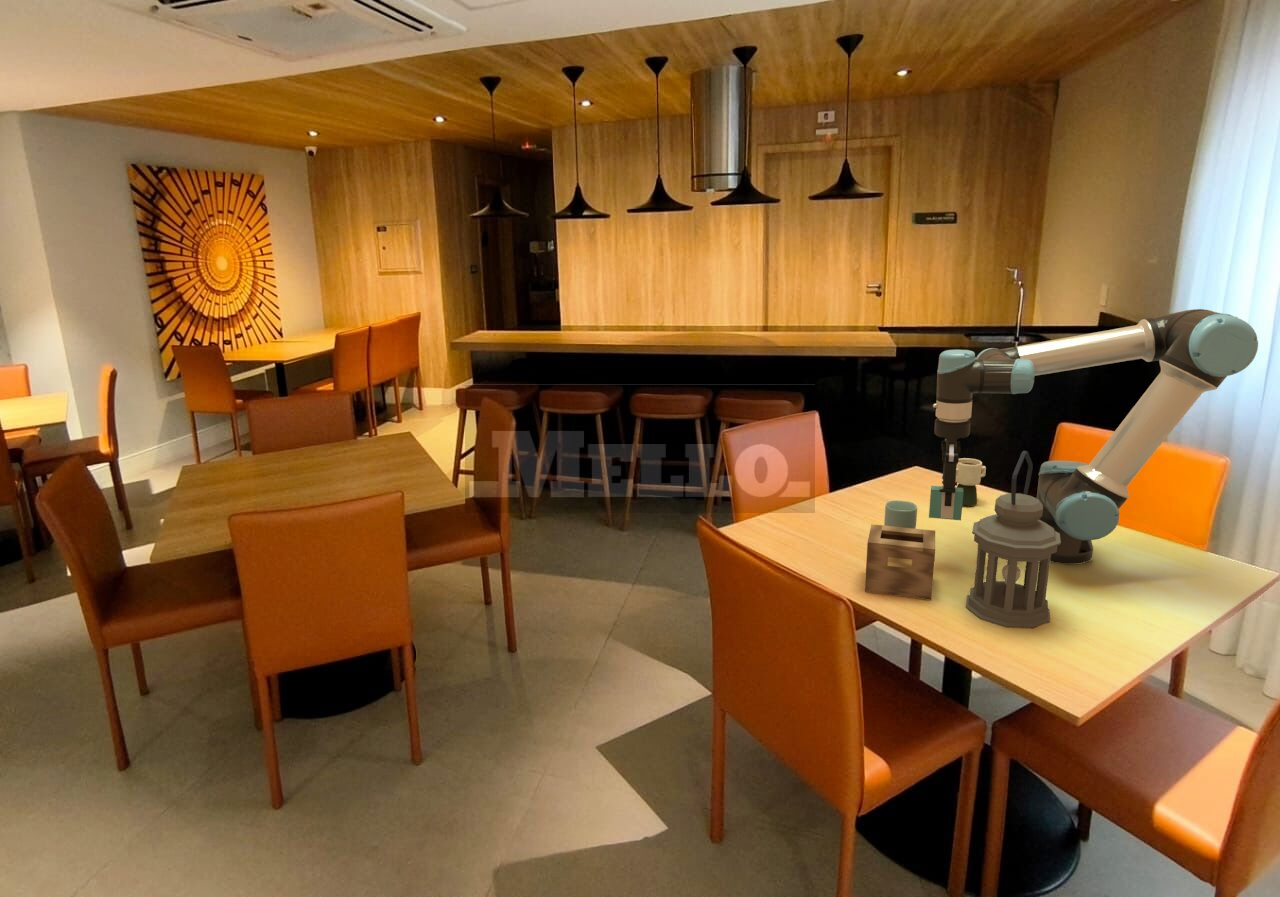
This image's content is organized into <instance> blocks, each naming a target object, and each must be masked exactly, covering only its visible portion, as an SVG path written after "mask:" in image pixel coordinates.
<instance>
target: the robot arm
mask: <svg viewBox="0 0 1280 897" xmlns="http://www.w3.org/2000/svg"><path fill="white" fill-rule="evenodd" d="M1258 347H1259V341H1258V335H1257V333H1256V331H1255V329H1254V328H1253V327H1252V325H1251V324H1250V323H1249V322H1246V321H1245V320H1243V319H1241V318H1239V317H1238V316H1234V315H1232V314H1229V313H1222V312H1221V313H1220V312H1217V311H1213V310H1209V309H1203V308H1202V309H1201V308H1197V309H1187V310H1182V311H1177V312H1171V313H1168V314H1167V313H1166V314H1163V315H1159V316H1155V317H1154V316H1153V317H1150V318H1149V317H1147V318H1144V319H1143V318H1142V319H1141V320H1140V321H1139V322H1138V323H1137V324H1136V325H1130V326H1124V327H1119V328H1114V329H1113V328H1112V329H1109V330H1102V331H1097V332H1095V331H1094V332H1091V333H1085V334H1080V335H1079V334H1078V335H1074V336H1068V337H1062V338H1056V339H1051V340H1046V341H1041V342H1040V341H1038V342H1033V343H1029V344H1024V345H1018V346H1014V347H1012V346H1011V347H1007V348H1005V347H1004V348H1001V349H999V348H995V347H991V348H987V349H983V350H982V351H981V352H979V353H978V354H977V355H976V353H975V352H974V351H972V350H969V349H948V350H944V351H942V352H941V353H940V354H939V357H938V365H937V370H936V372H937V373H936V374H937V375H936V376H937V377H936V403H933V404H932V407H933V408H934V409H935V417H936V418H935V420H934V435H936V436H937V437H939V438H944V440H941V452H942V453H941V455H942V456H941V458H942V460H941V461H942V463H943V467H942V469H943V470H942V475H941V478H942V481H941V484H942V486H943V489H940V491H939V492H942V502H941V518H949V519H948V520H950V519H953V512H954V497H955V491H956V489H955V487H957V485H958V483H957V482H956V467H957V464H958V462H959V459H960V453H961V441H958V440H959V439H965V438H968V437H969V435H970V433H971V420H970V419H971V418H972V410H973V409H972V408H973V394H1009V395H1010V394H1012V395H1016V394H1028V393H1029V392H1031V390H1033V387H1034V383H1035V376H1041V375H1047V374H1053V373H1060V372H1061V373H1062V372H1065V371H1066V372H1067V371H1072V370H1078V369H1083V368H1090V367H1095V366H1096V367H1097V366H1103V365H1109V364H1115V363H1120V362H1121V363H1122V362H1126V361H1135V360H1140V359H1142V360H1144V361H1145V362H1147V363H1150V362H1155V361H1157V362H1158V361H1159V367H1160V372H1159V373H1158V375H1157V376H1156V377H1155V379H1154V380H1153V381H1152V383H1151V384H1150V385H1149V386H1148V388H1147V389H1146V390H1145V392H1144V393H1143V394H1142V396H1140V398H1139V399H1138V401H1137V402H1136V403H1135V405H1133V406H1132V408H1131V409H1130V410H1129V412H1128V413H1127V415H1126V416H1125V418H1124V419H1123V420H1122V421H1121V423H1120V424H1119V425H1118V427H1117V428H1116V429H1115V431H1113V433H1112V434H1111V436H1110V437H1109V438H1108V439H1107V441H1106V442H1105V443H1104V444H1103V446H1102V447H1101V449H1099V451H1098V452H1097V454H1096V455H1095V456H1094V457H1093V459H1092V460H1090V463H1086V462H1080V461H1071V460H1048V461H1044V462H1043V463H1042V464H1041V465H1040V468H1039V472H1038V476H1039V477H1038V483H1037V484H1038V485H1037V494H1036V499H1038V500H1039V501H1040V502H1041V503H1042V504H1043V513H1042V517H1041V518H1040V519H1039V520H1041V521H1043V522H1044V523H1046V524H1048V525H1049V526H1051V527H1052V528H1054V530H1055V531H1056V532H1058V533H1060V541H1061V545H1058V546H1057V552H1056V553H1053V554H1051V560H1050V563H1051V562H1052V563H1054V564H1055V563H1056V564H1062V565H1063V564H1064V565H1076V564H1079V565H1080V564H1084V563H1088V562H1090V561H1091V560H1092V559H1093V555H1094V545H1093V541H1094V540H1095V541H1096V540H1100V539H1102V538H1105V537H1106V536H1108V535H1109V534H1111V533H1112V532H1113V531H1115V529H1116V528H1117V526H1118V524H1119V522H1120V508H1121V507H1122V506H1123V505H1124V503H1125V502H1126V501H1127V499H1128V498H1129V497H1130V495H1129V490H1128V487H1129V485H1130V484H1131V482H1132V481H1133V480H1134V479H1135V477H1136V476H1137V475H1138V474H1139V472H1140V471H1141V470H1142V469H1143V467H1144V466H1145V465H1146V464H1147V463H1148V461H1149V460H1150V459H1151V457H1152V456H1153V455H1154V454H1155V452H1156V451H1157V450H1158V448H1159V447H1160V446H1162V444H1163V443H1164V442H1165V440H1167V439H1166V438H1168V436H1169V435H1170V434H1171V433H1172V432H1173V430H1174V429H1175V428H1176V426H1177V425H1178V424H1179V423H1180V421H1181V420H1182V419H1183V418H1184V417H1185V415H1186V414H1187V413H1188V411H1189V410H1190V409H1191V408H1192V406H1194V405H1195V403H1196V402H1197V400H1198V399H1199V398H1200V397H1201V395H1202V394H1204V393H1205V392H1209V391H1214V390H1215V391H1216V390H1217V389H1218V387H1220V386H1221V384H1222V383H1223V382H1224V380H1225V379H1226V378H1227V377H1230V376H1233V375H1235V374H1238V373H1240V372H1242V371H1243V370H1245V369H1246V368H1248V367H1249V366H1250V364H1252V362H1253V361H1254V359H1255V357H1256V355H1257V353H1258V349H1259V348H1258Z"/></svg>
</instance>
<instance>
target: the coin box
mask: <svg viewBox="0 0 1280 897" xmlns="http://www.w3.org/2000/svg"><path fill="white" fill-rule="evenodd" d="M866 544H867V545H866V546H867V547H866V565H865V584H864V592H866V593H873V594H874V593H875V594H881V595H890V596H897V597H898V596H899V597H905V598H912V599H913V598H914V599H921V600H929V601H932V597H933V596H932V593H933V584H934V570H935V560H936V559H935V558H936V530H934V529H933V530H932V529H922V528H916V529H914V528H904V527H894V526H884V525H881V524H872V523H871V524H870V529H869V534H868V538H867V543H866Z"/></svg>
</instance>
